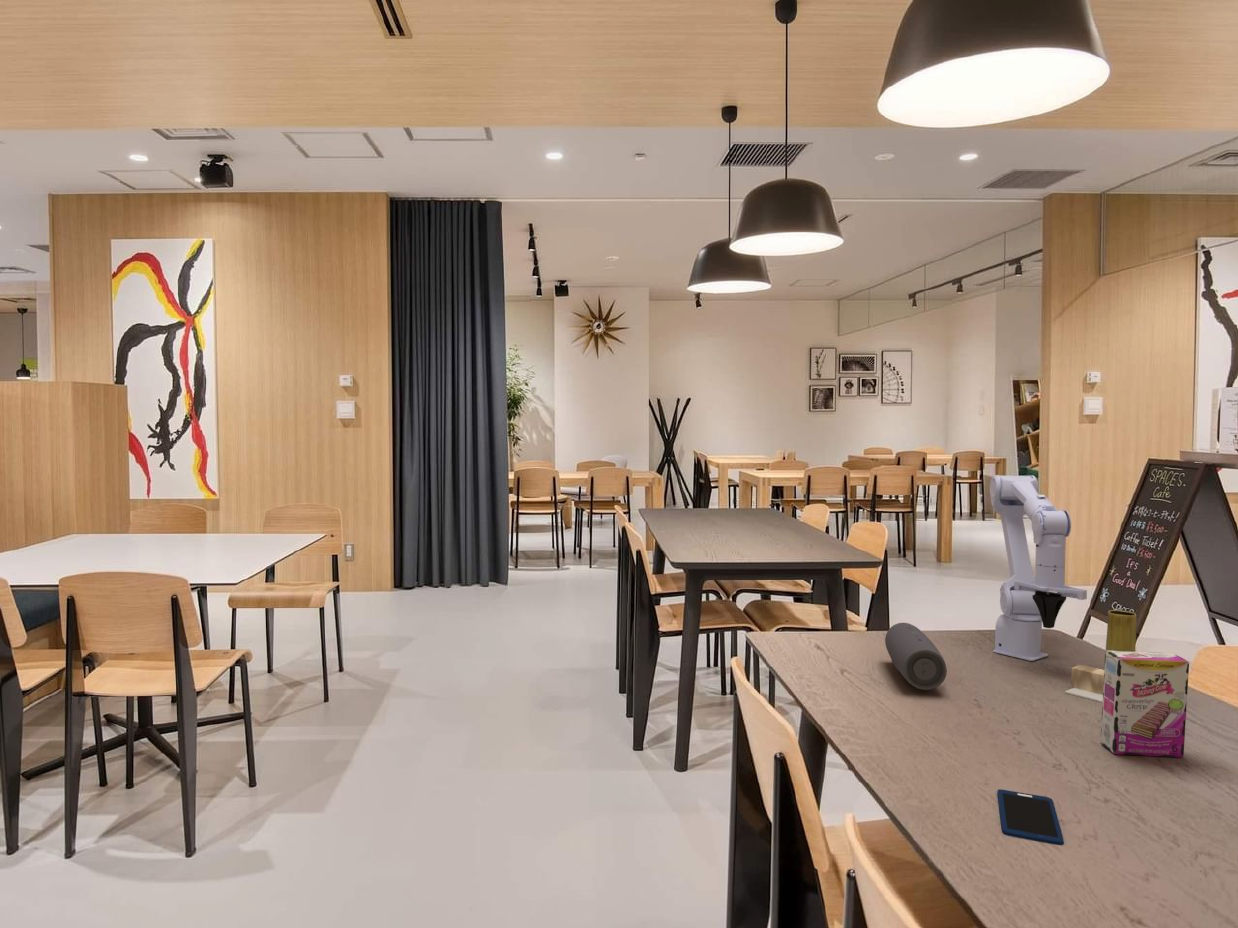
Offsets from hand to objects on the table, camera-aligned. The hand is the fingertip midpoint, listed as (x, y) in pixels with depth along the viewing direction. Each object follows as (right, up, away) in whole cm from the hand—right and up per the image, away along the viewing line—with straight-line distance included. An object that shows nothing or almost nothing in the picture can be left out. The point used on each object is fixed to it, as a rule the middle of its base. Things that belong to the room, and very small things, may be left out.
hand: (1048, 627), depth 174 cm
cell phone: (-37, -14, -63) cm, 75 cm away
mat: (+5, -11, -12) cm, 17 cm away
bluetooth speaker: (-31, -11, -3) cm, 33 cm away
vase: (+14, -11, -2) cm, 18 cm away
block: (+2, -9, -8) cm, 12 cm away
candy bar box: (-6, -13, -41) cm, 43 cm away
